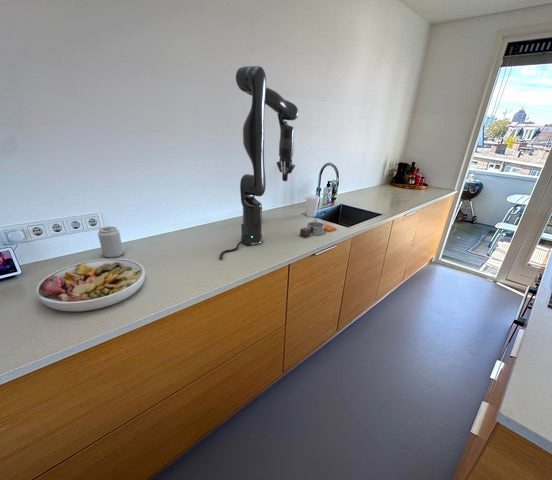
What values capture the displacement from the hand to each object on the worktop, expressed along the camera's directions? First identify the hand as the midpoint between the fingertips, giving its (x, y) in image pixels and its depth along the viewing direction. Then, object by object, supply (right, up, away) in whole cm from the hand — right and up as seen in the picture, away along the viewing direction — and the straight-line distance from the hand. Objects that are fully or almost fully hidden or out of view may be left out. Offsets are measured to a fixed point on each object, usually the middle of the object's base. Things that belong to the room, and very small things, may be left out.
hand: (284, 180), depth 159 cm
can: (-72, -42, -35) cm, 90 cm away
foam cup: (+16, -13, +37) cm, 43 cm away
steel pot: (+17, -28, +8) cm, 33 cm away
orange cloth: (+25, -25, +14) cm, 38 cm away
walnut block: (+11, -30, +1) cm, 32 cm away
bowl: (-61, -55, -60) cm, 102 cm away
